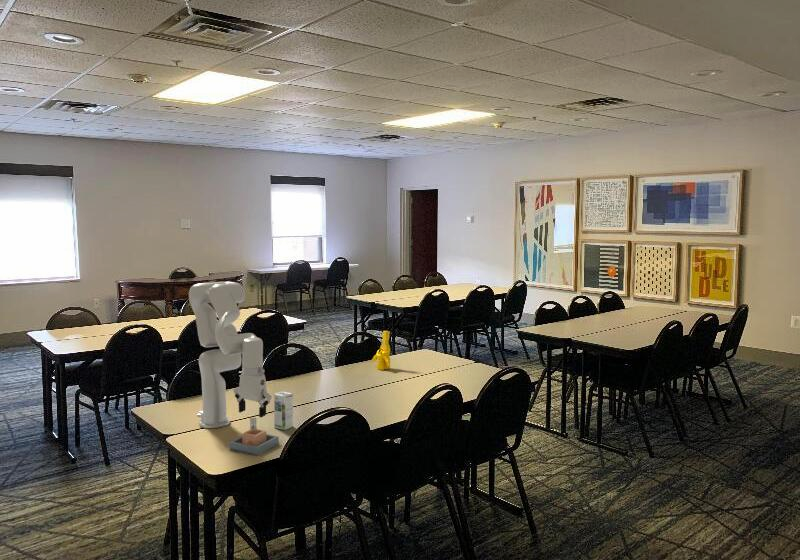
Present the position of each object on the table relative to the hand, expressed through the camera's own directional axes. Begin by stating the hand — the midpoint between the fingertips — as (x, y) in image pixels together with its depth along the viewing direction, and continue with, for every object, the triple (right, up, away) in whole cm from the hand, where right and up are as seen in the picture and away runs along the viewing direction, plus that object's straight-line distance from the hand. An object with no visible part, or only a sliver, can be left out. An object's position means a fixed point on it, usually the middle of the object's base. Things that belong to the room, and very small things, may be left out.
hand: (252, 413), depth 232 cm
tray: (+1, -13, 0) cm, 13 cm away
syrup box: (+8, -11, +22) cm, 26 cm away
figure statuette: (+46, -1, +121) cm, 129 cm away
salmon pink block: (+1, -12, 0) cm, 12 cm away
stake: (-3, -11, +15) cm, 19 cm away
